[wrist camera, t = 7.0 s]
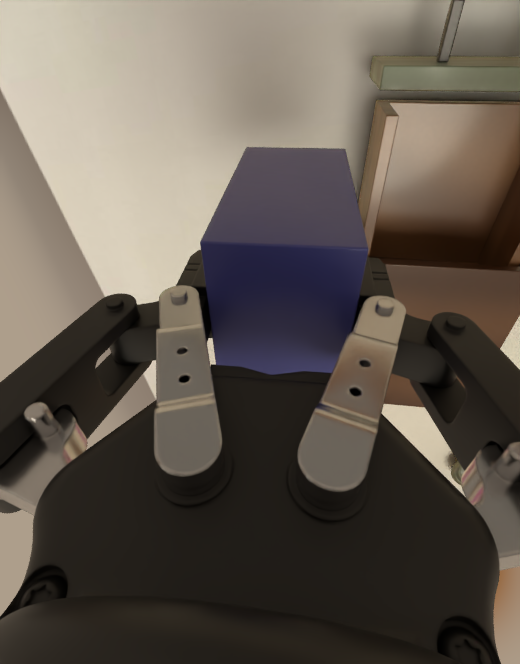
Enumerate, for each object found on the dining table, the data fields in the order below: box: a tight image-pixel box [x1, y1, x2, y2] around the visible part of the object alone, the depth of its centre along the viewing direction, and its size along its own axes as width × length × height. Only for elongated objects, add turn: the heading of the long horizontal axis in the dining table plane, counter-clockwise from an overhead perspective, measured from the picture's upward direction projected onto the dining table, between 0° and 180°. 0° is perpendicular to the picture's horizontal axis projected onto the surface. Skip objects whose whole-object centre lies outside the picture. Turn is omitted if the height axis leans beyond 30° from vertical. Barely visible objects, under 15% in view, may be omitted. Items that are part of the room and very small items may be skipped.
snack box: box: [200, 147, 369, 375], centre depth 15 cm, size 6×5×10 cm
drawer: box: [358, 0, 520, 267], centre depth 26 cm, size 20×13×6 cm
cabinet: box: [380, 259, 520, 407], centre depth 36 cm, size 17×15×8 cm
